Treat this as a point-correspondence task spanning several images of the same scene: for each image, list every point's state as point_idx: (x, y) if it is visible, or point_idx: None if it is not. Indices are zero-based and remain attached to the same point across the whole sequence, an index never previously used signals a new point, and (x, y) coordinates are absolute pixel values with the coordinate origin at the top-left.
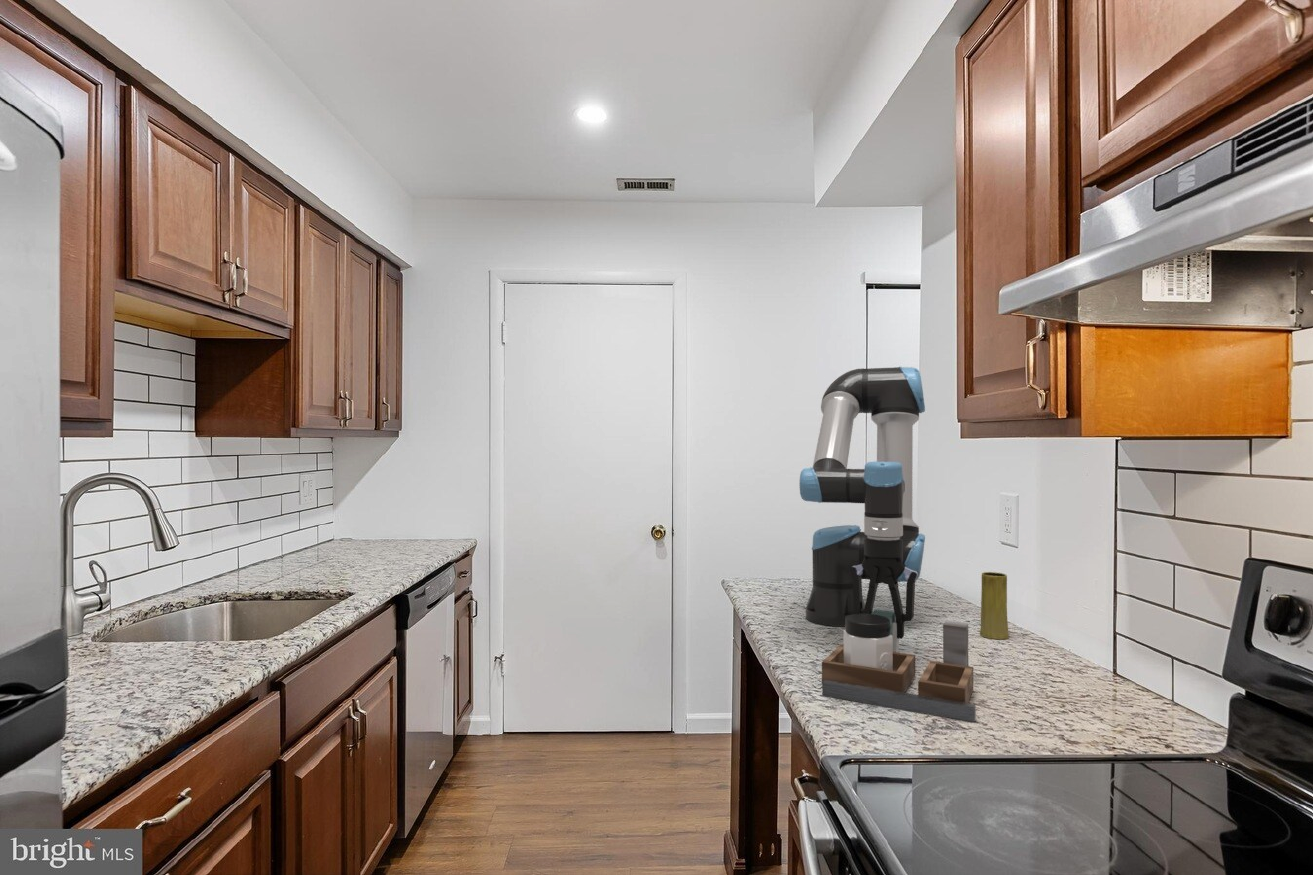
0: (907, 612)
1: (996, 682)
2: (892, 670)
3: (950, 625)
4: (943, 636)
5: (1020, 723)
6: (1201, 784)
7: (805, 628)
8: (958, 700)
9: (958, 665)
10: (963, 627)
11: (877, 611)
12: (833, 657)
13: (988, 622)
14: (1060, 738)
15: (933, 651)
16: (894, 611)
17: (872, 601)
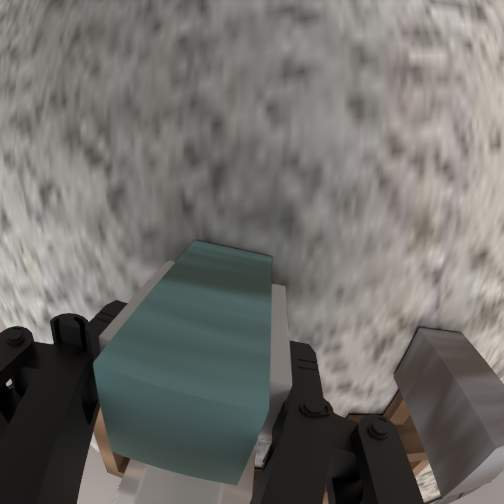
0: (340, 500)
1: (491, 352)
2: (253, 472)
3: (461, 491)
4: (431, 466)
5: (419, 479)
6: (474, 490)
7: (9, 6)
8: None
9: (414, 456)
10: (486, 483)
11: (126, 419)
12: (112, 457)
13: None
14: (436, 486)
15: (418, 84)
16: (253, 495)
17: (75, 485)
